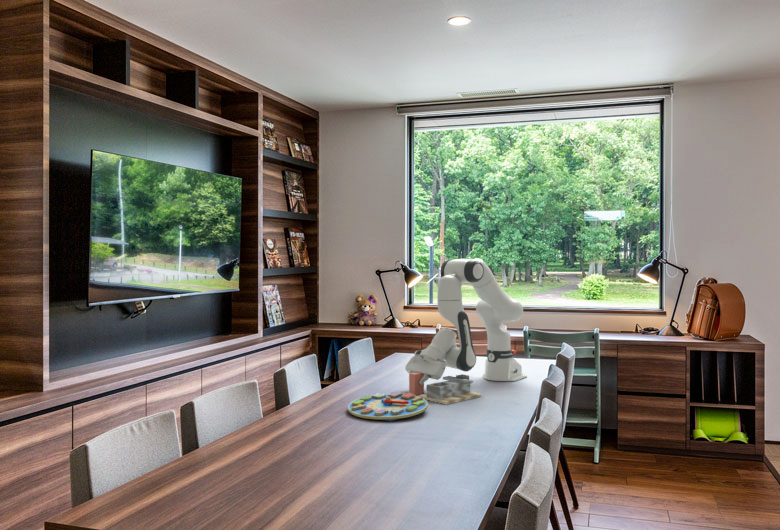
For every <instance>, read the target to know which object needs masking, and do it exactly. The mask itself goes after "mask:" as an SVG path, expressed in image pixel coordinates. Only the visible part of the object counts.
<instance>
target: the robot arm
mask: <svg viewBox="0 0 780 530" xmlns="http://www.w3.org/2000/svg"><path fill="white" fill-rule="evenodd" d="M441 264H442V265H441V266H440V271H439V272H440V278H439V281H438V286H437V287H438V288H437V311H438V313H439V315H440V316H441V317H442V318H443V319H445V320H446V321H448V322H449V323H451V324H452V325H453V326H454V327H455V329H456V331H457V332H456V331H454V330H453V329H451V328H447V327H442V328H441V329H439V330H438V331H437V333H436V334H435V335H434V336H433V338H432V339H431V343H430V344H429V345H428V346H427V347H426V348H424V349H420V350H416V351H415V352H414V353H413V356H412V357H411V358H410V359H409V360H408V362H407V363H406V365H405V368H404V370H405V371H406V372H407V373H408V374H409V373H415V372H418V373H423V374H424V377H423V378H422V379H419V381H418V384H419V385H422V384H423V383H424V384H425V382H427V381H428V380H429V379H432V380H436V381H437V380H438V381H439V380H440V379H441V378H442V377H443V374H444V373H445V370H446V368H451V369H457V370H459V371H462V372H469V371H471V370H472V369H473V368H474V367H475V366H476V364H477V354H476V352H475V349H474V345H473V336H472V330H471V324H470V320H469V316H468V314H467V313H466V312H465V309H464V305H463V293H462V292H463V291H462V286H463V284H465V283H466V284H467V283H469V284H470V285H471V286H472V288H473V290H474V291H475V293H476V295H477V296H478V298H479V299H480V300H478V302H477V304H476V307H475V310H476V314H477V315H476V316H478V317H479V318H480V319H481V321H482V322H483V324H484V326H485V327H484V328H485V330H486V335H487V338H486V339H487V349H486V359H485V363H484V365H485V366H484V373H483V374H482V376H483V379H485V380H487V381H494V382H517V381H519V380H521V379H526V378H527V377H528V375H527V374H524V373H523V369H522V368H523V367H522V364H520V362H518V361H517V360H516V359H515V358H514V356H513V355H516V353H517V350H515V349H511V341H512V340H511V338H512V337H511V336H512V335H511V334H510V332H509V330H507V329H506V327H505V326H504V323H514V322H518V321H520V320H521V319H522V318H523V315H524V307H523V305H522V303H521V302H519V301H518V300H516V299H515V298H513V297H511V296H510V295H509V294H508V293H507V292H506V291H505V290H504V289H503V288H502V287H501V285H500V284H499V283H498V281H497V279H496V278H495V275H494V274H493V272H492V270H491V269H490V267H489V266H488V265H487V263H486V262H485V261H484V260H483V259H481V258H472V259H471V258H470V259H469V258H457V259H455V258H453V259H452V258H451V259H447V260H445V261H444V262H442V263H441ZM503 322H504V323H503ZM457 337H458V344H459V346H458V345H457Z"/></svg>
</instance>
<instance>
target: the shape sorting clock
mask: <svg viewBox="0 0 780 530" xmlns="http://www.w3.org/2000/svg"><path fill="white" fill-rule="evenodd" d="M428 407H429V402H428V400H425V399H423V397H418V395H415V394H411V393H409V392H408V393H403V392H399V391H391V392H390V393H383V392H377V393H374V394H372V395H367V396H364V397H362V396H361V397H358V398H356V399H354V400H352V401H351V402H349V404H348V405H347V412H349V413H350V414H351V415H353V416H354V417H356V418H357V417H358V418H362V419H368V420H383V421H387V422H394V421H398V420H401V419H404V418H410V417H414V416H416V415H420V414H421V413H424V412H425V411H427V409H428Z"/></svg>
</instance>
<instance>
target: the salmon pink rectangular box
mask: <svg viewBox="0 0 780 530" xmlns="http://www.w3.org/2000/svg"><path fill="white" fill-rule="evenodd" d="M423 377H424V374H423V373H418V372H415V373H408V381H409V382H408V383H409V384H408V390H409V391H408V393H411V394H415V396H418V395H417V394H420V395H421V394H422V393H424V394H425V382H424V383H423V384H422V385H419V384H418V381H419V379H422V378H423Z"/></svg>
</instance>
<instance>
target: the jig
mask: <svg viewBox="0 0 780 530" xmlns="http://www.w3.org/2000/svg"><path fill="white" fill-rule="evenodd" d="M442 380H444V381H439V382H433V383H429V384H426V393H424V394H420V395H417V396H418V397H423V399H426V401H428V400H430V401H429V402H433V401H434V402H433V403H437V402H438V404H441V403H442V404H441V405H445V404H447V405H451V404H450V403H452V404H455V403H454V402H456V403H460V402H464V401H463V400H465V401H468V400H467V399H469V400H472V399H471V398H474V399H477V398H476V397H478V398H481V397H480V396H482V393H479V392H476V391H475V392H474V391H471V384H475V383H474V380H472V379H470V375H467V374H462V373H461V374H456V375H455V376H452V375H448V376H442ZM459 401H460V402H459Z"/></svg>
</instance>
